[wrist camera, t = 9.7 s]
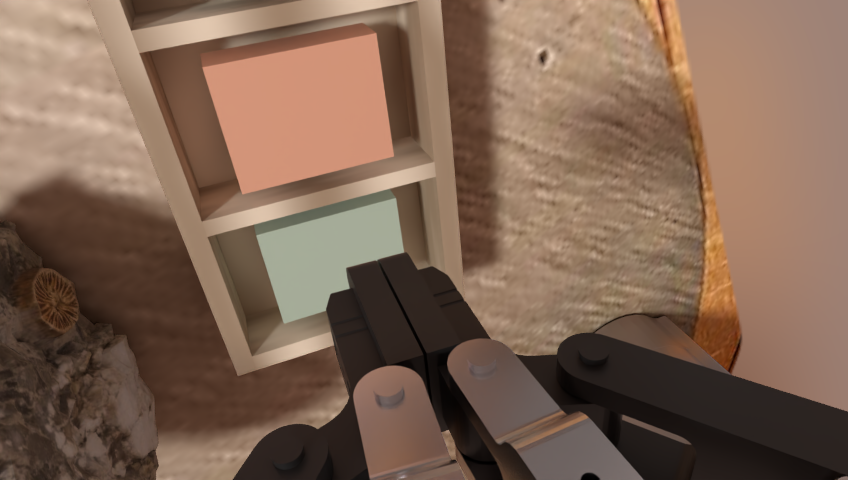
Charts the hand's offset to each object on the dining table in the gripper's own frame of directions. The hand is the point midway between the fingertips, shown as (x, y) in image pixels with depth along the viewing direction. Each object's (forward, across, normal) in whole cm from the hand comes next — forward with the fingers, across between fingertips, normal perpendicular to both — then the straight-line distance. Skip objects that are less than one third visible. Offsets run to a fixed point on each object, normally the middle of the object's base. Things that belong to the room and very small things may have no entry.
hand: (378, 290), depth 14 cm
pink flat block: (+15, 0, 0) cm, 15 cm away
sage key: (+16, -1, +8) cm, 18 cm away
